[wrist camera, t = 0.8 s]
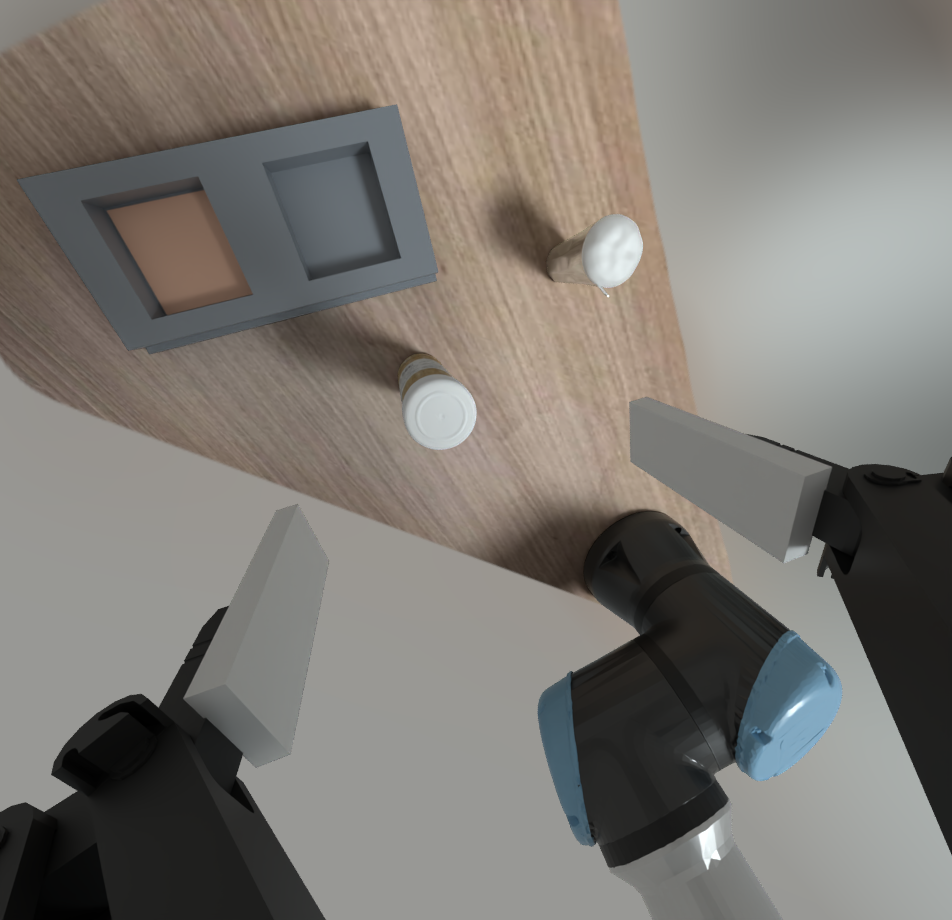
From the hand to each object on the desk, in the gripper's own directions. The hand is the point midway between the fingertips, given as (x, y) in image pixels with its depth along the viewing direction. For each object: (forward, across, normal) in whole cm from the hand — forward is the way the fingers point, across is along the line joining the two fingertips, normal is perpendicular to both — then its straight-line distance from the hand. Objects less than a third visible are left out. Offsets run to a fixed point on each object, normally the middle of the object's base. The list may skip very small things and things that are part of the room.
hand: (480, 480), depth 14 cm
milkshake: (+22, -15, -6) cm, 28 cm away
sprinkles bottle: (+22, 0, 0) cm, 22 cm away
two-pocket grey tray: (+22, +8, -12) cm, 27 cm away
